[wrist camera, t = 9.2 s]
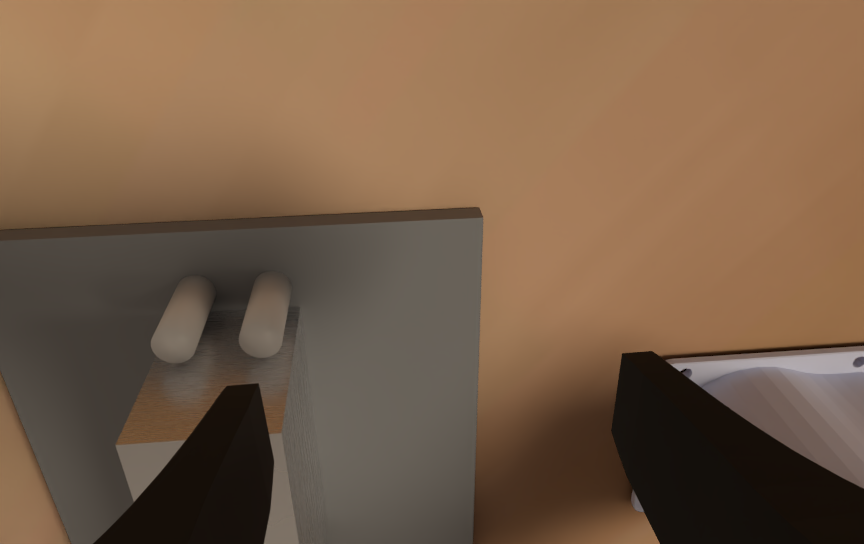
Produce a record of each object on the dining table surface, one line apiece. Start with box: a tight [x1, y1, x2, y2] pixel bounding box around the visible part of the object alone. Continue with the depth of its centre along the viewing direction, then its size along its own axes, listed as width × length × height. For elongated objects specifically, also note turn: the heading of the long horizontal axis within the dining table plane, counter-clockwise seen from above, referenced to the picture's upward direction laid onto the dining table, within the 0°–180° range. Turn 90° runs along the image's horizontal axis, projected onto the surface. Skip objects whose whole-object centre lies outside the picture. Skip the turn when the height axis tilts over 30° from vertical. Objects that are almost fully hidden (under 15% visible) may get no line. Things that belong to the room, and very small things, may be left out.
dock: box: [0, 208, 483, 544], centre depth 23 cm, size 16×17×4 cm
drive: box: [115, 306, 327, 544], centre depth 21 cm, size 4×10×6 cm, turn 0°
